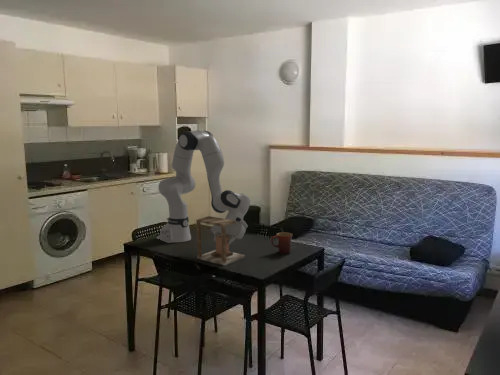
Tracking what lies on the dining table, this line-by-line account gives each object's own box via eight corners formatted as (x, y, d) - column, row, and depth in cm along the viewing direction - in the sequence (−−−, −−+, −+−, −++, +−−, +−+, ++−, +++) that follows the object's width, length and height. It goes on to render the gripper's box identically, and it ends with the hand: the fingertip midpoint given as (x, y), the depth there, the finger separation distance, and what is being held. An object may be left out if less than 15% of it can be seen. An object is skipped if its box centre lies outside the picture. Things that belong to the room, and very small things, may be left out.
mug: (289, 249, 239) (289, 231, 238) (294, 254, 231) (294, 235, 229) (269, 251, 237) (268, 233, 236) (272, 255, 229) (272, 237, 227)
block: (215, 255, 227) (215, 237, 225) (222, 253, 230) (221, 235, 229) (223, 257, 223) (222, 238, 222) (229, 254, 227) (228, 236, 226)
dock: (197, 258, 225) (196, 219, 222) (218, 251, 238) (217, 213, 235) (224, 265, 214) (223, 224, 211) (244, 257, 227) (244, 218, 224)
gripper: (215, 215, 236) (204, 236, 230) (244, 219, 223) (233, 242, 217) (221, 221, 240) (210, 242, 234) (250, 226, 228) (239, 248, 221)
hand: (221, 242), depth 225 cm, fingers open, 8 cm apart
